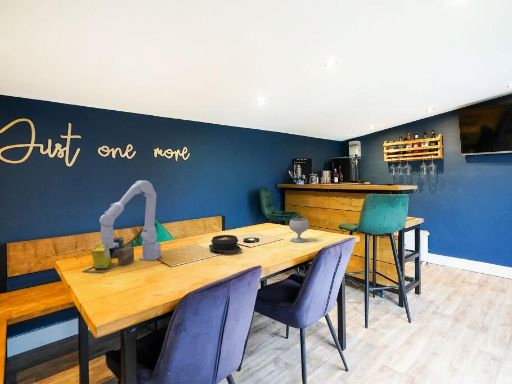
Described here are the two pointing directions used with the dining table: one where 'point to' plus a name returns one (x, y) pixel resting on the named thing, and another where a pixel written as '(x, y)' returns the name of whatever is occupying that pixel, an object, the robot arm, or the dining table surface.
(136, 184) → the robot arm
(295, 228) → the chalice
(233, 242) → the black round squat piece
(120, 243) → the box
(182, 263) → the dining table surface
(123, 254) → the shelf blocks
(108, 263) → the supplement box
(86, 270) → the stand outline
